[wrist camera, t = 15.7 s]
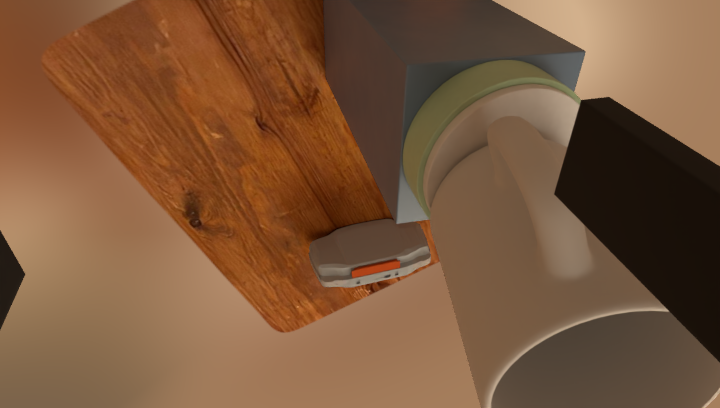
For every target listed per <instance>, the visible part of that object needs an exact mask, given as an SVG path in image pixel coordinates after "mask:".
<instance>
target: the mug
mask: <svg viewBox="0 0 720 408" xmlns="http://www.w3.org/2000/svg"><path fill="white" fill-rule="evenodd" d="M487 140H488V146H485V147H483V148H481V149H479V150H477V151H475V152H473V153H472V154H470V155H469V156H467V157H466V158H464V159H463V160H462V161H461V162H459V163H458V164H457V165H456V166H455V167H454V168H453V169H452V170H451V171H450V172H449V173H448V174H447V175H446V177H445V178H444V180H443V181H442V182H441V184H440V186H439V188H438V189H437V191H436V194H435V196H434V199H433V202H432V207H431V214H430V225H431V232H432V236H433V240H434V243H435V247H436V250H437V253H438V256H439V259H440V263H441V266H442V269H443V272H444V276H445V279H446V283H447V286H448V290H449V293H450V297H451V301H452V304H453V308H454V312H455V315H456V319H457V323H458V326H459V330H460V333H461V337H462V341H463V344H464V347H465V352H466V355H467V359H468V362H469V366H470V370H471V373H472V377H473V380H474V384H475V388H476V391H477V395H478V399H479V402H480V405H481V408H705V407H706V406H707V405H709V403H711V401H713V400H714V399H715V397H716V396H717V395H718V394H719V393H720V362H719V361H718V360H717V359H716V358H715V357H714V356H713V355H712V354H711V353H710V352H709V351H708V350H707V349H706V348H705V347H704V346H703V345H702V344H701V343H700V342H699V341H698V340H697V339H696V338H695V337H694V336H693V335H692V334H691V333H690V332H689V331H688V330H687V329H686V328H685V327H684V326H683V325H682V324H681V323H680V322H679V321H678V320H677V319H676V318H675V317H674V316H673V315H672V314H671V313H670V312H669V311H668V310H667V309H666V308H665V307H664V306H663V305H662V304H661V303H660V301H659V300H658V299H657V298H656V297H655V296H654V295H653V294H652V293H651V292H650V291H649V290H648V289H647V288H646V287H645V286H644V285H643V284H642V283H641V282H640V281H639V280H638V279H637V278H636V277H635V276H634V275H633V274H632V273H631V272H630V271H629V270H628V269H627V268H626V267H625V266H624V265H623V264H622V263H621V262H620V261H619V260H618V259H617V258H616V257H615V256H614V255H613V254H612V253H611V252H610V251H609V250H608V249H607V248H606V247H605V246H604V245H603V244H602V243H601V242H600V241H599V240H598V238H597V237H596V236H595V235H594V234H593V233H592V232H591V231H590V230H589V229H588V228H587V227H586V226H585V225H584V224H583V223H582V222H581V221H580V220H579V219H578V218H577V217H576V216H575V215H574V214H573V213H572V212H571V211H570V210H569V209H568V208H567V207H566V206H565V205H564V204H563V203H562V202H561V201H560V200H559V199H558V198H557V197H556V196H555V195H554V192H555V189H556V185H557V182H558V178H559V175H560V171H561V168H562V164H563V161H564V157H565V154H566V151H567V147H565V146H563V145H561V144H559V143H557V142H554V141H551V140H547V139H544V138H543V137H542V136H541V134H540V133H539V132H538V131H537V130H536V129H535V127H533V126H532V125H531V124H530V123H529V122H528V121H526V120H524V119H523V118H521V117H519V116H506V117H501V118H499V119H497V120H495V121H494V122H493V123H492V124H491V125H490V126H489V128H488V132H487Z"/></svg>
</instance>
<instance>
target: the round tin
mask: <svg viewBox="0 0 720 408" xmlns="http://www.w3.org/2000/svg"><path fill="white" fill-rule="evenodd" d="M580 102H581V100H580V98H579V97H578V96H577V95H576V94H575V93H574V92H573V91H572V90H571V89H570V88H568V87H567V86H566V85H564V84H563V83H561V82H560V81H558V80H557V79H555V78H554V77H552V76H551V75H549V74H548V73H546V72H545V71H543V70H542V69H540V68H538V67H536V66H534V65H532V64H529V63H526V62H523V61H516V60H497V61H490V62H486V63H482V64H479V65H476V66H473V67H471V68H468V69H466V70H464V71H462V72H460V73H458V74H457V75H455V76H453V77H452V78H450V79H449V80H448V81H446V82H445V83H443V84H442V85H441V86H440V87H439V88H438V89H437V90H435V91H434V92H433V93H432V94H431V96H430V97H429V98H428V99H427V100H426V101H425V102H424V104H423V105H422V106H421V108H420V109H419V111H418V112H417V114H416V116H415V117H414V119H413V121H412V123H411V125H410V127H409V130H408V132H407V135H406V139H405V143H404V149H403V169H404V174H405V177H406V181H407V183H408V185H409V187H410V189H411V191H412V192H413V194H414V196H415V197H416V199H417V201H418V203H419V204H420V206H421V208H422V210H423V211H424V213H425V214H426V216H427V217H428V218H429V220H430V214H431V207H432V202H433V199H434V196H435V194H436V191H437V189H438V188H439V186H440V184H441V182H442V181H443V180H444V178H445V177H446V175H447V174H448V173H449V172H450V171H451V170H452V169H453V168H454V167H455V166H456V165H457V164H458V163H459V162H461V161H462V160H463V159H464V158H466V157H467V156H469V155H470V154H472V153H473V152H475V151H477V150H479V149H481V148H483V147H485V146H488V140H487V132H488V128H489V126H490V125H491V124H492V123H493V122H494V121H495V120H497V119H499V118H501V117H506V116H519V117H521V118H523V119H524V120H526V121H528V122H529V123H530V124H531V125H532V126H533V127H535V129H536V130H537V131H538V132H539V133H540V134H541V136H542V137H543V138H544V139H547V140H551V141H554V142H557V143H559V144H561V145H563V146H565V147H568V144H569V140H570V137H571V133H572V130H573V126H574V123H575V119H576V116H577V112H578V109H579V106H580Z"/></svg>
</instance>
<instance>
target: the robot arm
mask: <svg viewBox="0 0 720 408" xmlns="http://www.w3.org/2000/svg"><path fill="white" fill-rule="evenodd" d="M554 195H555V196H556V197H557V198H558V199H559V200H560V201H561V202H562V203H563V204H564V205H565V206H566V207H567V208H568V209H569V210H570V211H571V212H572V213H573V214H574V215H575V216H576V217H577V218H578V219H579V220H580V221H581V222H582V223H583V224H584V225H585V226H586V227H587V228H588V229H589V230H590V231H591V232H592V233H593V234H594V235H595V236H596V237H597V238H598V240H599V241H600V242H601V243H602V244H603V245H604V246H605V247H606V248H607V249H608V250H609V251H610V252H611V253H612V254H613V255H614V256H615V257H616V258H617V259H618V260H619V261H620V262H621V263H622V264H623V265H624V266H625V267H626V268H627V269H628V270H629V271H630V272H631V273H632V274H633V275H634V276H635V277H636V278H637V279H638V280H639V281H640V282H641V283H642V284H643V285H644V286H645V287H646V288H647V289H648V290H649V291H650V292H651V293H652V294H653V295H654V296H655V297H656V298H657V299H658V300H659V301H660V303H661V304H662V305H663V306H664V307H665V308H666V309H667V310H668V311H669V312H670V313H671V314H672V315H673V316H674V317H675V318H676V319H677V320H678V321H679V322H680V323H681V324H682V325H683V326H684V327H685V328H686V329H687V330H688V331H689V332H690V333H691V334H692V335H693V336H694V337H695V338H696V339H697V340H698V341H699V342H700V343H701V344H702V345H703V346H704V347H705V348H706V349H707V350H708V351H709V352H710V353H711V354H712V355H713V356H714V357H715V358H716V359H717V360H718V361H719V362H720V166H718V165H716V164H715V163H713V162H712V161H710V160H708V159H707V158H705V157H704V156H702V155H701V154H699V153H697V152H696V151H694V150H693V149H691V148H689V147H688V146H686V145H685V144H683V143H681V142H680V141H678V140H677V139H675V138H674V137H672V136H670V135H669V134H667V133H665V132H664V131H662V130H661V129H659V128H658V127H656V126H654V125H653V124H651V123H650V122H648V121H646V120H645V119H643V118H642V117H640V116H638V115H637V114H635V113H634V112H632V111H630V110H629V109H627V108H626V107H624V106H622V105H621V104H619V103H618V102H616V101H614V100H613V99H611V98H610V97H606V98H597V99H588V100H581V102H580V106H579V109H578V112H577V116H576V119H575V123H574V126H573V130H572V133H571V137H570V140H569V144H568V147H567V151H566V154H565V157H564V161H563V164H562V168H561V171H560V175H559V178H558V182H557V185H556V189H555V192H554ZM24 276H25V273H24V271H23V269H22V268H21V266H20V264H19V263H18V261H17V259H16V257H15V256H14V254H13V252H12V250H11V248H10V247H9V245H8V243H7V241H6V240H5V238H4V236H3V235H2V233H1V231H0V329H1V327H2V325H3V323H4V320H5V318H6V316H7V313H8V311H9V309H10V307H11V305H12V302H13V300H14V298H15V296H16V294H17V291H18V289H19V287H20V285H21V282H22V280H23V278H24Z"/></svg>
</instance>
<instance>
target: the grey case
mask: <svg viewBox="0 0 720 408" xmlns="http://www.w3.org/2000/svg"><path fill="white" fill-rule="evenodd" d="M309 250H310V251H309V258H310V262H311V265H312V267H313V270H314V272H315V274H316V276H317V278H318V280H319V282H321V284H322V286H324V287H355V286H359V285H364V284H368V283H373V282H377V281H382V280H386V279H391V278H395V277H400V276H404V275H408V274H409V273H411V272H413V271H414V270H416V269H417V268H419V267H422V266H425V265H427V264H429V263H430V260H431V254H430V250H429V246H428V243H427V239H426V237H425V235H424V232H423V230H422V228H421V226H420V224H418V223H416V222H407V223H400V224H396V223H395V221H394V220H392V219H382V220H375V221H369V222H364V223H359V224H355V225H351V226H347V227H343V228H340V229H337V230H335V231H334V232H332V233H331V234H329V235H328V236H325V237H322V238H319V239H317V240H314V241H312V243H311V244H310V247H309Z"/></svg>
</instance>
